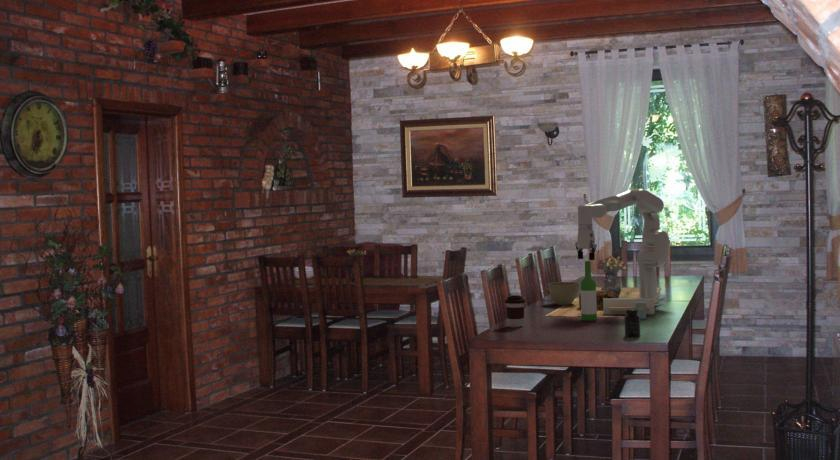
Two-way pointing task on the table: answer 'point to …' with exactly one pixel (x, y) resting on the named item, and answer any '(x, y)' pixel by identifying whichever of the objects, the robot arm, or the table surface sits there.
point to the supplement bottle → (632, 323)
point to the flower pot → (563, 292)
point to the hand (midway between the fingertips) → (586, 259)
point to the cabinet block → (641, 309)
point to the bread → (600, 297)
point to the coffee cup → (515, 310)
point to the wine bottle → (588, 295)
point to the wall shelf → (625, 305)
